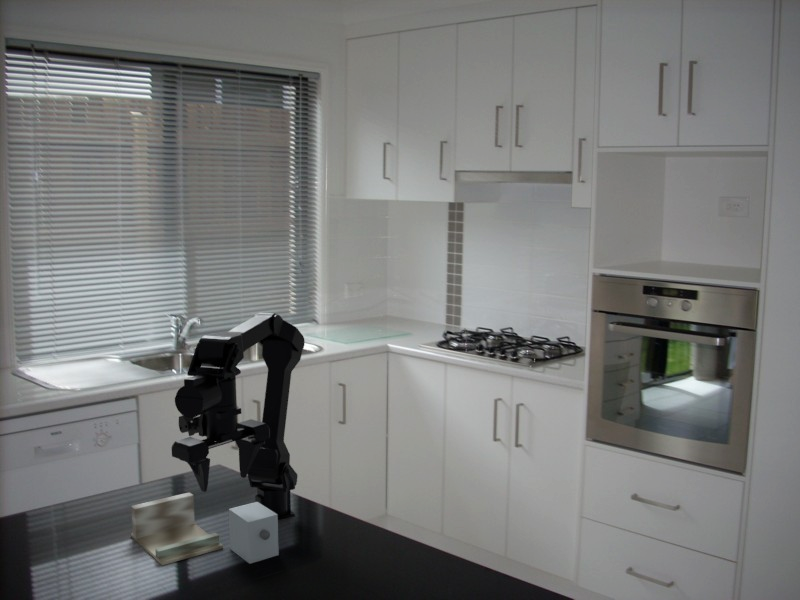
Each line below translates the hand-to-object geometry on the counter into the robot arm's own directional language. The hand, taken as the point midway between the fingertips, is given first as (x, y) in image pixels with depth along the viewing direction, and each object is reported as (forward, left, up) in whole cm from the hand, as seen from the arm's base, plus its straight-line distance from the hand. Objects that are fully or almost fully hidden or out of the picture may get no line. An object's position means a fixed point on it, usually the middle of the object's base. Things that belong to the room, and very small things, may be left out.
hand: (224, 484), depth 160 cm
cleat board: (+6, -9, -13) cm, 17 cm away
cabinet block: (-4, +4, -13) cm, 14 cm away
